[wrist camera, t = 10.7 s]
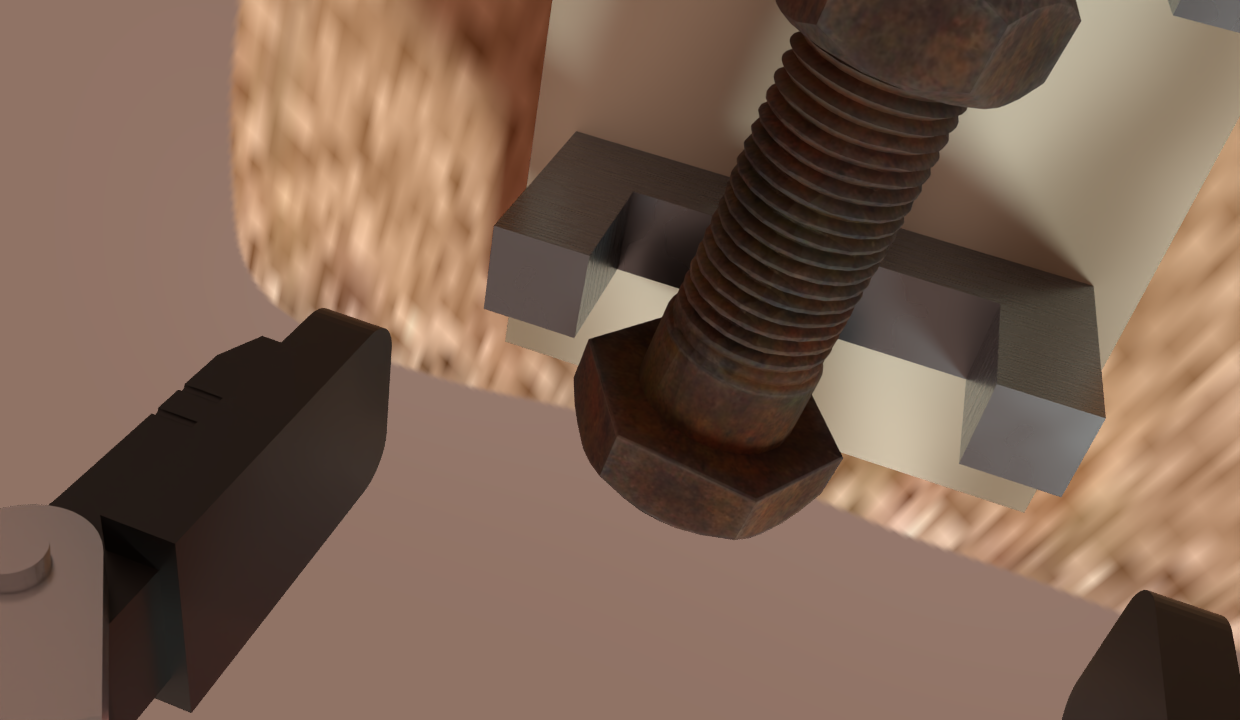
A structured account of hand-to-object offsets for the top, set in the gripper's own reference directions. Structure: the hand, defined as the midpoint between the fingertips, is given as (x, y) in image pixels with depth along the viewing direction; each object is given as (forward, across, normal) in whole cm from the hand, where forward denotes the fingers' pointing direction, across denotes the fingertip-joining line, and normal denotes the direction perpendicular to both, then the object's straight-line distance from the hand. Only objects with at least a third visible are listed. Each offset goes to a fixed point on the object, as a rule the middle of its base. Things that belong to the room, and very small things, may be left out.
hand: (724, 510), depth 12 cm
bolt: (+13, 0, 0) cm, 13 cm away
